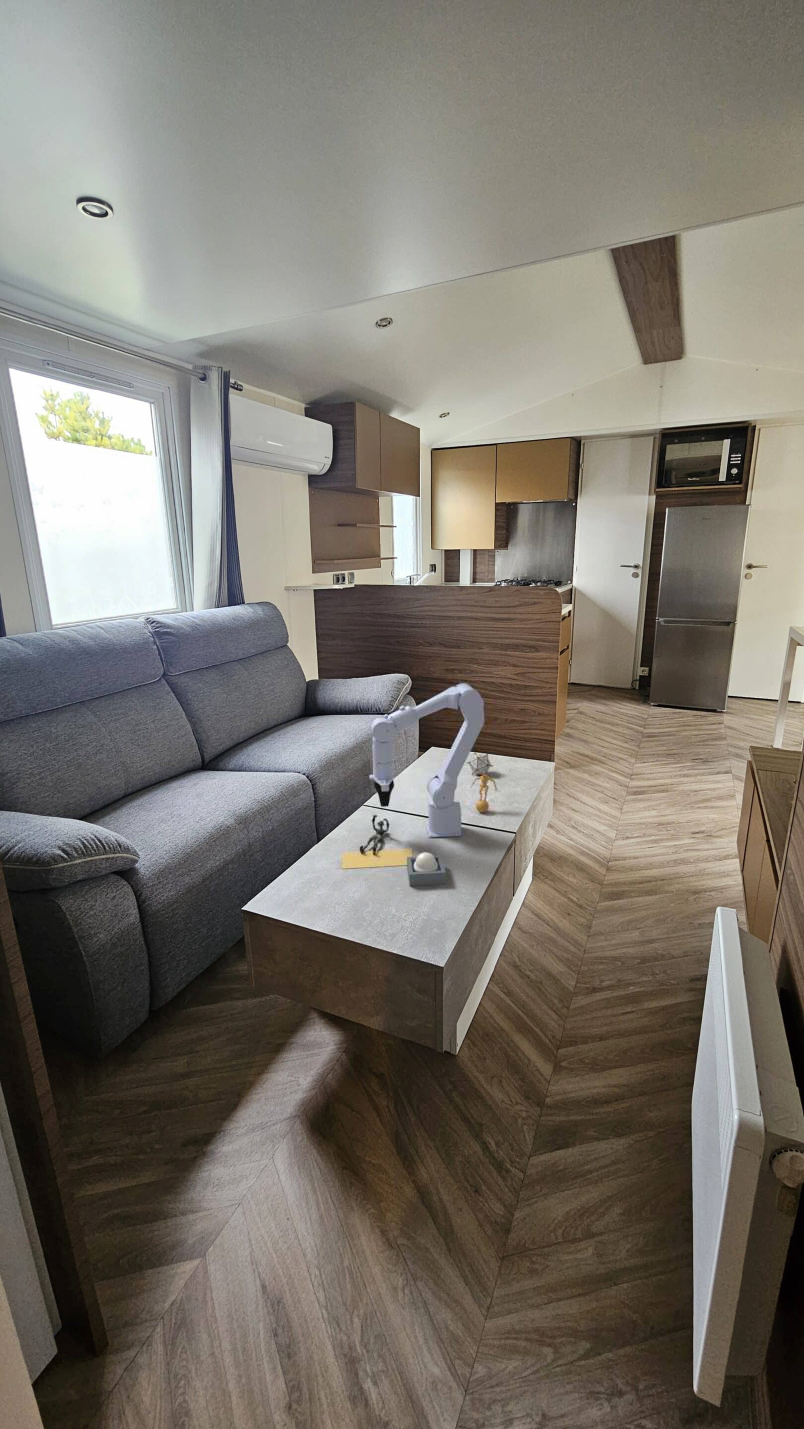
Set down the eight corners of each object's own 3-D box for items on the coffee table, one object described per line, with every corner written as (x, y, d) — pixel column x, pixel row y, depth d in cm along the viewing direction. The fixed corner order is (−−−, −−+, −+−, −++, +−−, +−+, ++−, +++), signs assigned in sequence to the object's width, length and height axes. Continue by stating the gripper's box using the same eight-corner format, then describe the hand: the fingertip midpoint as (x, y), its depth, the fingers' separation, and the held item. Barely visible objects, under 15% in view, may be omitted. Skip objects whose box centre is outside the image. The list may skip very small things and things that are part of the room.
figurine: (467, 812, 193) (467, 776, 190) (473, 805, 198) (473, 770, 195) (493, 816, 190) (494, 779, 187) (498, 809, 195) (499, 773, 192)
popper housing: (441, 866, 161) (441, 855, 160) (445, 884, 152) (445, 872, 151) (407, 868, 160) (406, 857, 160) (409, 886, 152) (409, 874, 151)
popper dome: (436, 865, 159) (436, 847, 158) (439, 877, 153) (438, 858, 152) (413, 867, 159) (412, 848, 157) (415, 879, 153) (414, 860, 152)
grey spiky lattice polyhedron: (475, 783, 227) (464, 758, 230) (496, 774, 227) (485, 749, 230) (474, 779, 219) (463, 754, 221) (496, 770, 218) (485, 744, 221)
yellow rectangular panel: (411, 849, 171) (411, 848, 171) (414, 865, 162) (414, 864, 162) (342, 852, 170) (342, 852, 170) (341, 869, 161) (341, 868, 161)
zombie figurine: (358, 830, 167) (374, 810, 181) (359, 854, 169) (375, 831, 183) (376, 832, 166) (392, 811, 180) (378, 855, 167) (393, 832, 181)
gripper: (368, 753, 179) (369, 796, 183) (369, 770, 165) (371, 816, 169) (392, 752, 180) (393, 795, 183) (395, 768, 166) (397, 815, 169)
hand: (384, 805), depth 176 cm, fingers closed
